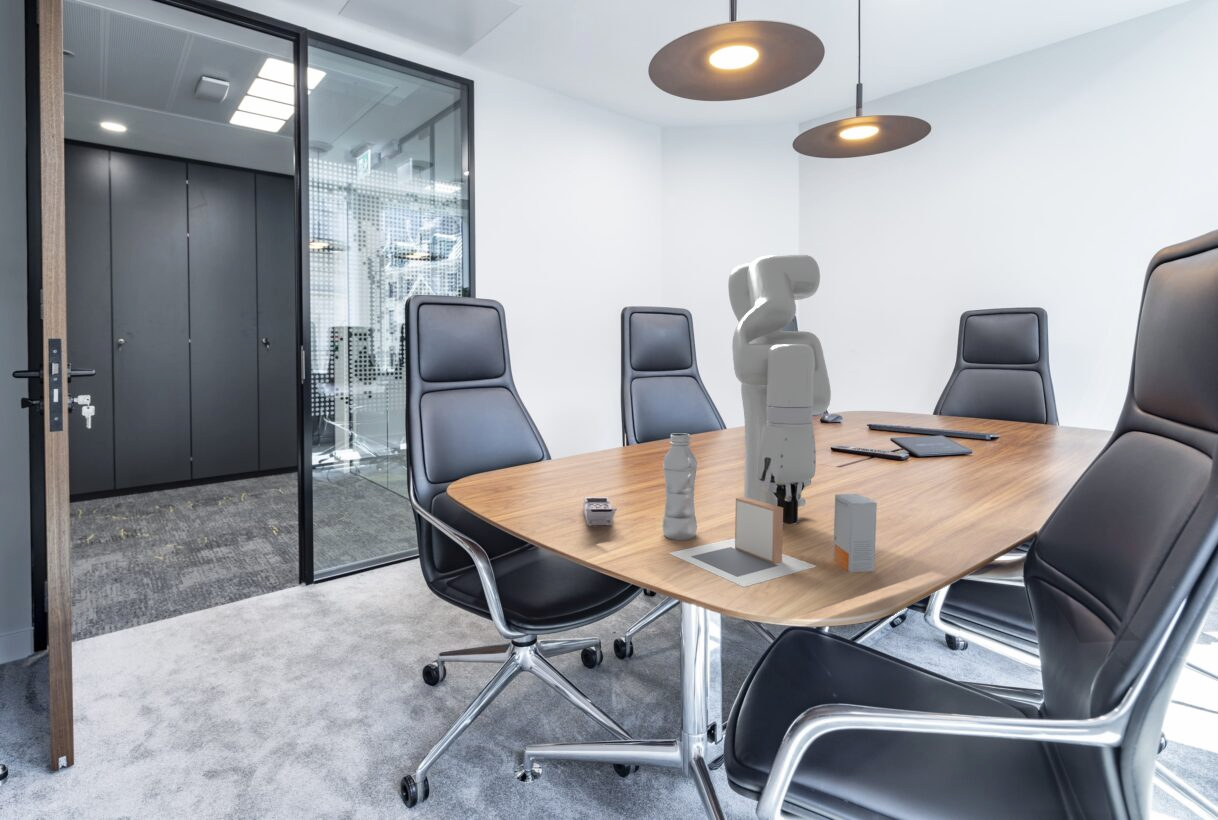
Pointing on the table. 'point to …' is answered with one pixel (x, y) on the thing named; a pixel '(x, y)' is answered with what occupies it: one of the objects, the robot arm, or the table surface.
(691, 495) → the plastic bottle
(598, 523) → the mobile phone
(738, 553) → the mat
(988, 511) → the table surface
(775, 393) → the robot arm
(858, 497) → the skincare box
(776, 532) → the tile
